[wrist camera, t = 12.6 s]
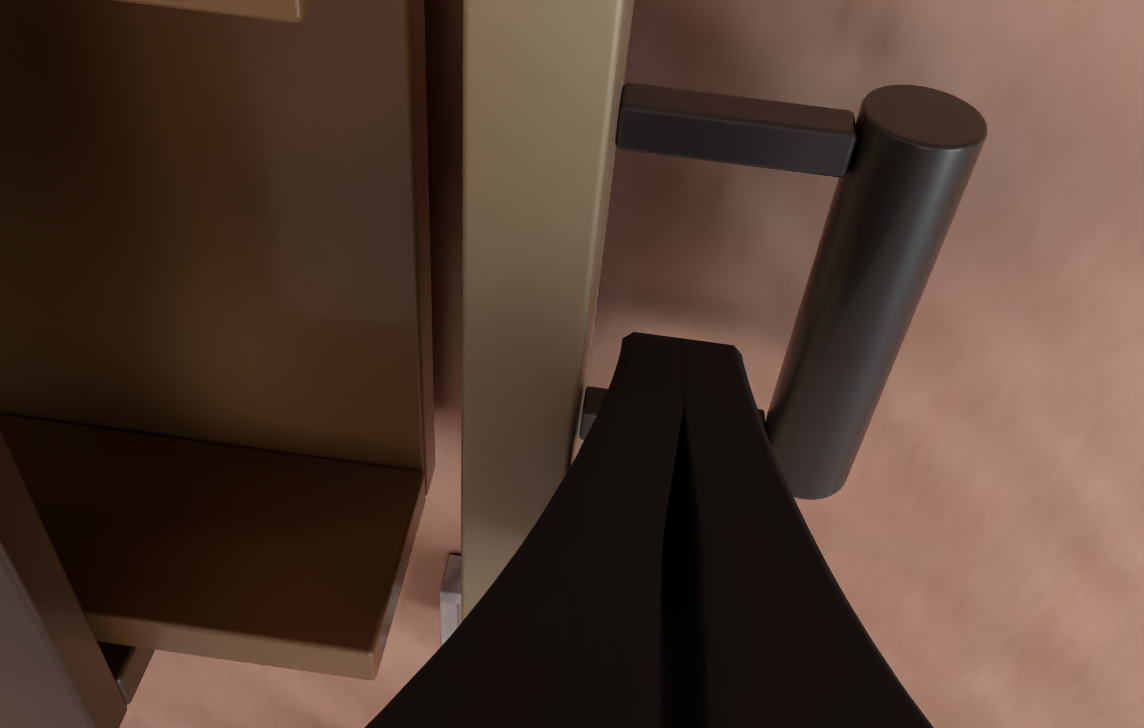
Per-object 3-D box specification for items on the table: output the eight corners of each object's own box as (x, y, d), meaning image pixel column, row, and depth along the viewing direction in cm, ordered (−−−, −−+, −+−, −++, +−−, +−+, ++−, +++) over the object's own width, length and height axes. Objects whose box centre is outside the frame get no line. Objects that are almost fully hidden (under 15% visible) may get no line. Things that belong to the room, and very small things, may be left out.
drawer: (1076, -234, 10) (1259, -53, 7) (794, 526, 19) (809, 781, 15) (-426, -407, 11) (-994, -320, 7) (-32, 413, 19) (-201, 635, 16)
